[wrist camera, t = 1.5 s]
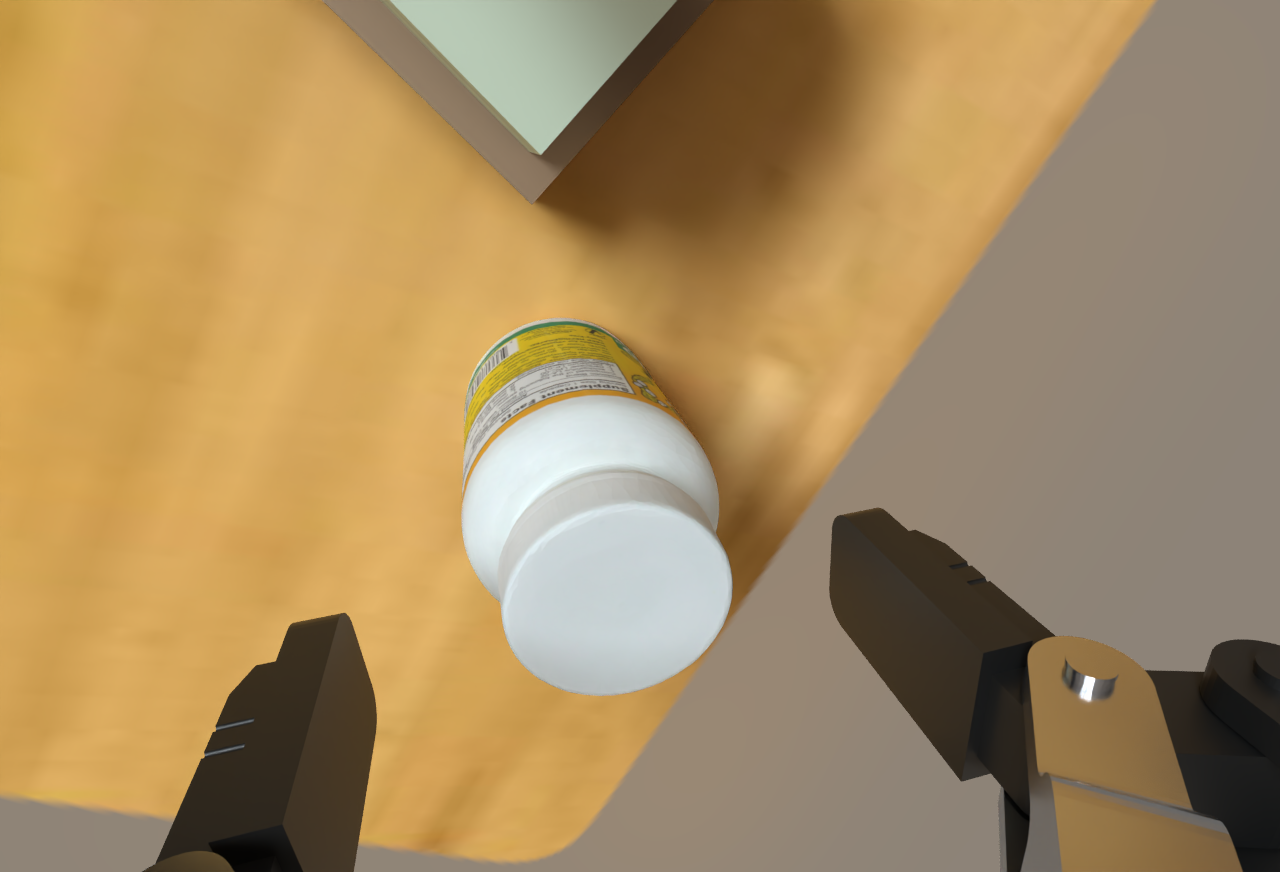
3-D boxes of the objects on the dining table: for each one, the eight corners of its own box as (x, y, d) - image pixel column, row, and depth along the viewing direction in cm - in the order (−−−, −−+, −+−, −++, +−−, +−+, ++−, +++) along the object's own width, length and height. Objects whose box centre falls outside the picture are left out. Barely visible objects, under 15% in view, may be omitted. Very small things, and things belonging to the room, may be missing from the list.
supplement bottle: (449, 326, 18) (425, 492, 10) (641, 302, 19) (774, 435, 11) (482, 498, 21) (487, 755, 12) (653, 470, 21) (770, 690, 13)
